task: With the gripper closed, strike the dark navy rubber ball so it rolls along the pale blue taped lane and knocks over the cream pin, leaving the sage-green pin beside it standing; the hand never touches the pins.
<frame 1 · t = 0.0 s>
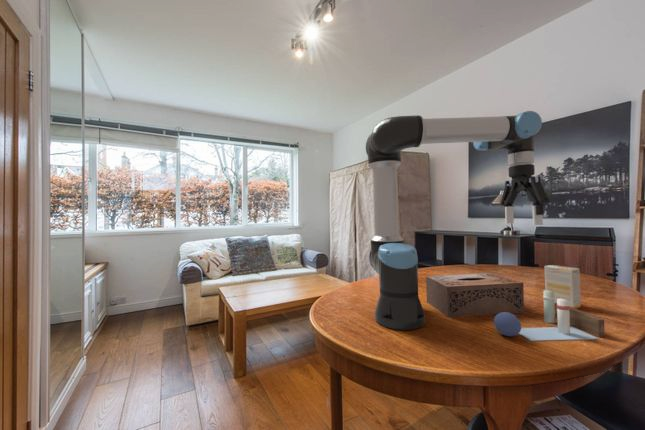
hand: (522, 224, 96), 28 cm above the table, tool pointing down, fingers open, 13 cm apart
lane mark: (552, 333, 71), on the table
ball: (507, 324, 71), on the table
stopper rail: (577, 326, 75), on the table
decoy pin: (549, 321, 79), on the table
supplement box: (562, 305, 92), on the table
tissue box cover: (472, 308, 93), on the table
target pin: (563, 333, 71), on the table
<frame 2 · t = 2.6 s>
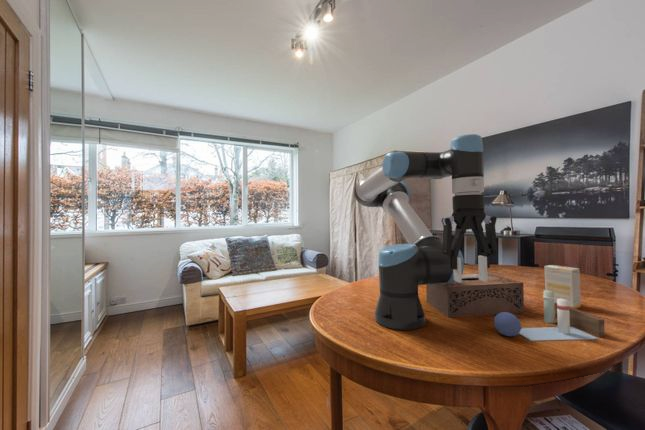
hand: (470, 280, 71), 15 cm above the table, tool pointing down, fingers open, 6 cm apart
nothing on the table moved.
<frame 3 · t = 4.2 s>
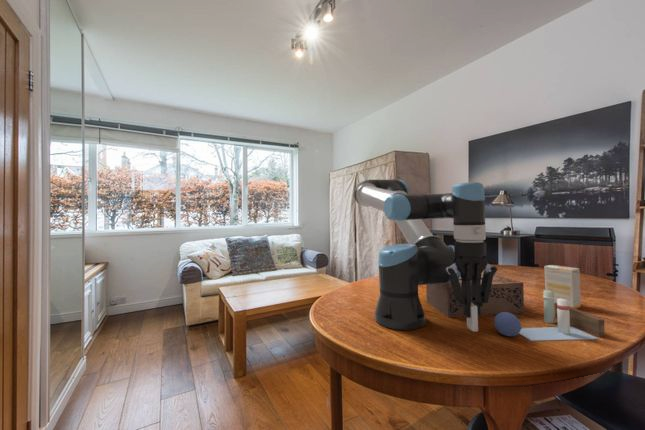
hand: (472, 328, 71), 2 cm above the table, tool pointing down, fingers closed
nothing on the table moved.
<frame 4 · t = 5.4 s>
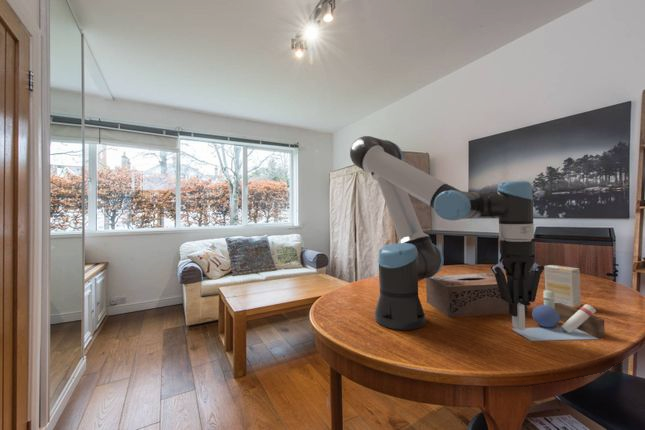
hand: (518, 327, 71), 2 cm above the table, tool pointing down, fingers closed
ball: (545, 316, 75), on the table
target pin: (565, 330, 71), point 1 cm above the table, tilted 51°
everything else where it was.
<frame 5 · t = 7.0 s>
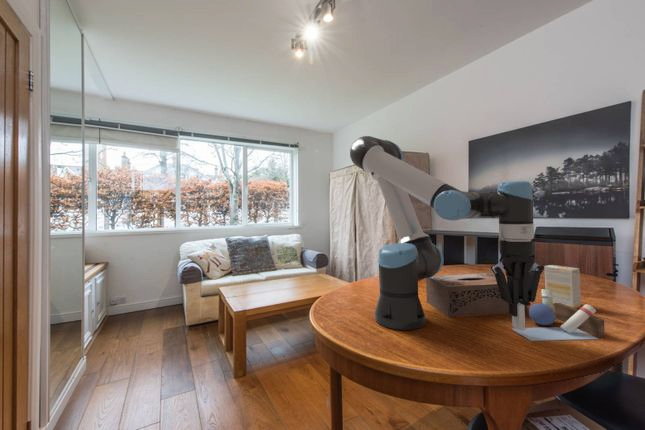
hand: (518, 327, 71), 2 cm above the table, tool pointing down, fingers closed
ball: (542, 314, 77), on the table, touching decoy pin
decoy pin: (549, 321, 79), on the table, tilted 9°, touching ball
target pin: (565, 330, 71), point 1 cm above the table, tilted 51°, touching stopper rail
everything else where it was.
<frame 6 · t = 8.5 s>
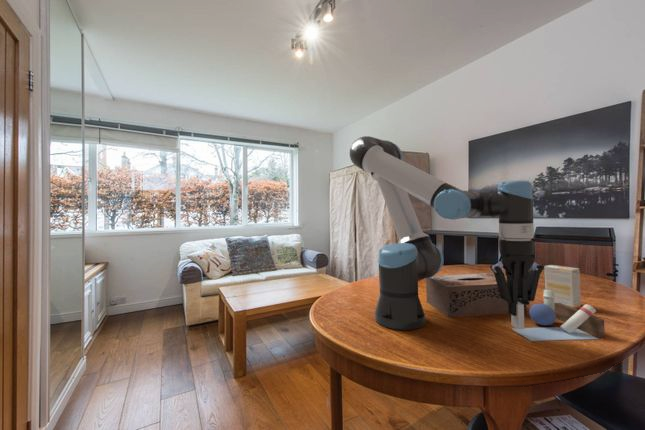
hand: (517, 326, 71), 2 cm above the table, tool pointing down, fingers closed
nothing on the table moved.
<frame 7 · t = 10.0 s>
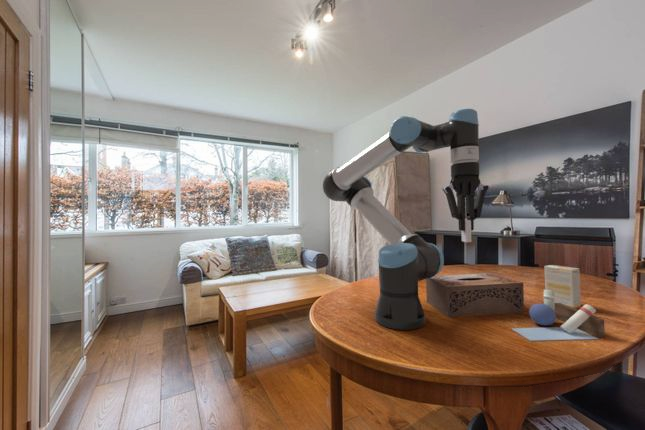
hand: (466, 241, 80), 24 cm above the table, tool pointing down, fingers closed
nothing on the table moved.
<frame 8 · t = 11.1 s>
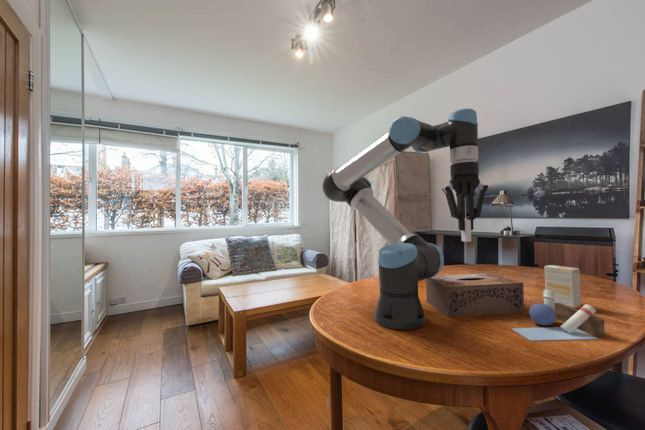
hand: (466, 241, 80), 24 cm above the table, tool pointing down, fingers closed
nothing on the table moved.
at the end: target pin tilted 51°; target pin never touched the robot; ball moved 15.1 cm from its start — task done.
